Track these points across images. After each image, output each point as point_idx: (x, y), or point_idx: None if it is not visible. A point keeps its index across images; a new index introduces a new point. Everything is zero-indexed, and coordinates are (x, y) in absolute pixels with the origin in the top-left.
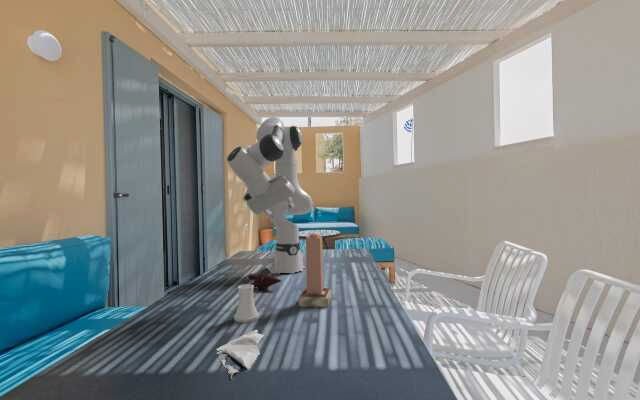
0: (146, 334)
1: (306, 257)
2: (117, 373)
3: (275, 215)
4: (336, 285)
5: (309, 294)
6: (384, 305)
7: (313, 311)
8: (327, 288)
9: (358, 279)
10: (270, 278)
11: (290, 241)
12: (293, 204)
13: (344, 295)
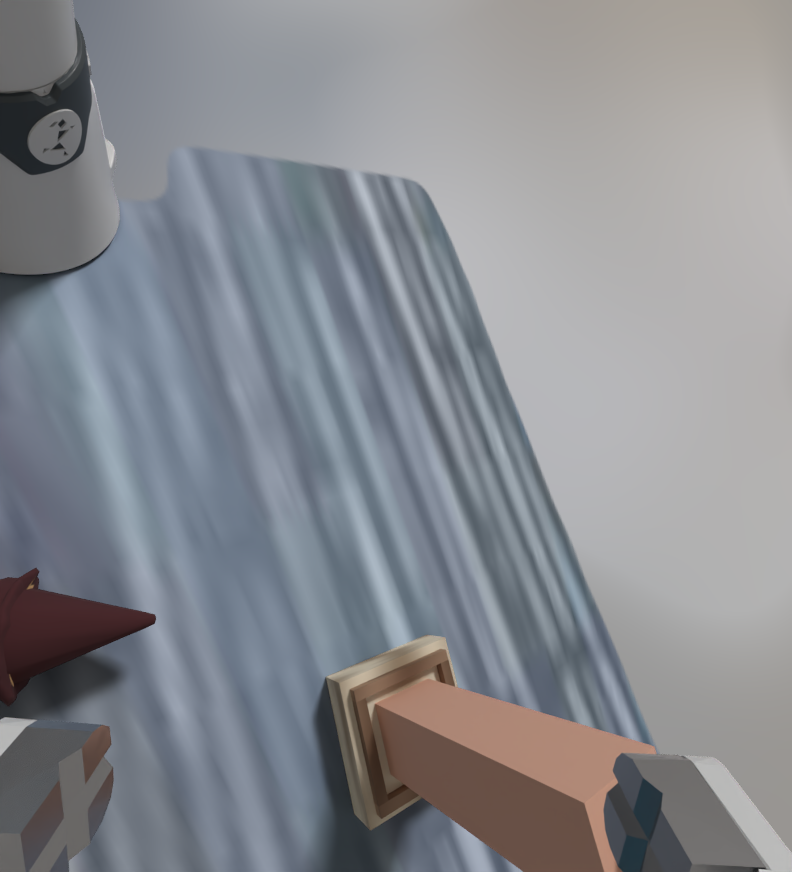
0: None
1: (508, 859)
2: None
3: (96, 760)
4: (382, 454)
5: (415, 797)
6: (583, 641)
7: (432, 841)
8: (443, 660)
9: (426, 353)
10: (77, 648)
11: (16, 68)
12: (728, 789)
13: (455, 582)
